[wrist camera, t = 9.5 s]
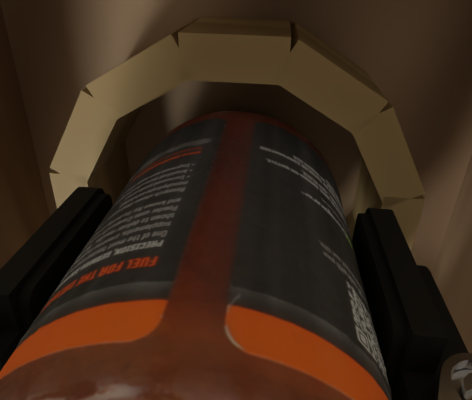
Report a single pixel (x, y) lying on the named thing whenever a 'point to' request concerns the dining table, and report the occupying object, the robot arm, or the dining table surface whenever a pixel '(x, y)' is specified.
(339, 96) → the walled box
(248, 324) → the supplement bottle
